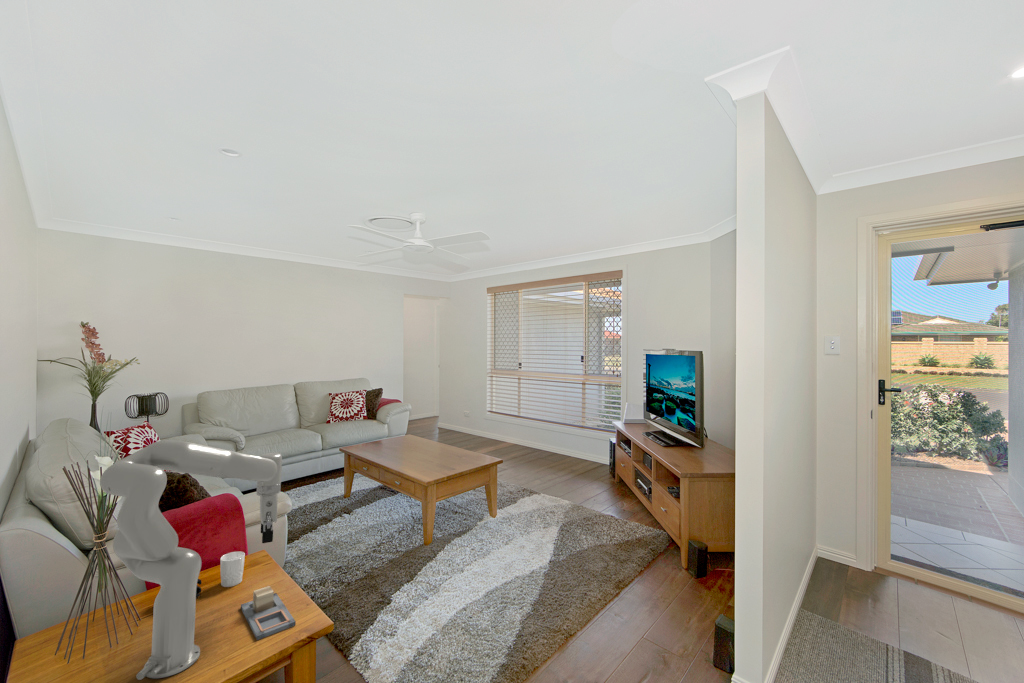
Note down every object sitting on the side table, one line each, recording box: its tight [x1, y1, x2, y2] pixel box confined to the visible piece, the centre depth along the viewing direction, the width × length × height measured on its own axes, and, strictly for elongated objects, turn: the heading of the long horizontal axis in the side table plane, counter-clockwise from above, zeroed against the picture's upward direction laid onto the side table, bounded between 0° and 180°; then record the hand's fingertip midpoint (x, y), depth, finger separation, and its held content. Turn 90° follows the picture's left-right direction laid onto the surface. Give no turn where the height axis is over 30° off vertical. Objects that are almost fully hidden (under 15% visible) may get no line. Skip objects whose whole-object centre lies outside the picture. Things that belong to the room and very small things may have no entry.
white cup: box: [219, 551, 246, 588], centre depth 165 cm, size 8×8×10 cm
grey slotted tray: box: [240, 592, 297, 641], centre depth 144 cm, size 22×11×2 cm, turn 43°
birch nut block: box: [252, 585, 275, 613], centre depth 148 cm, size 5×5×6 cm
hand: (266, 537), depth 153 cm, fingers open, 9 cm apart
